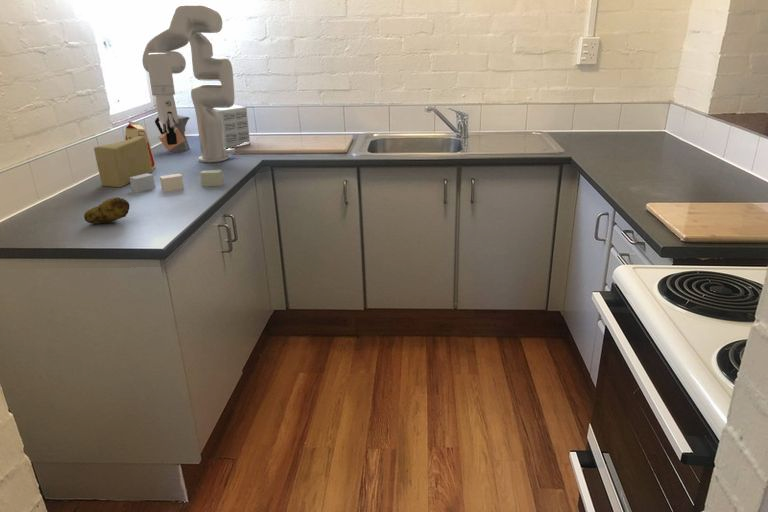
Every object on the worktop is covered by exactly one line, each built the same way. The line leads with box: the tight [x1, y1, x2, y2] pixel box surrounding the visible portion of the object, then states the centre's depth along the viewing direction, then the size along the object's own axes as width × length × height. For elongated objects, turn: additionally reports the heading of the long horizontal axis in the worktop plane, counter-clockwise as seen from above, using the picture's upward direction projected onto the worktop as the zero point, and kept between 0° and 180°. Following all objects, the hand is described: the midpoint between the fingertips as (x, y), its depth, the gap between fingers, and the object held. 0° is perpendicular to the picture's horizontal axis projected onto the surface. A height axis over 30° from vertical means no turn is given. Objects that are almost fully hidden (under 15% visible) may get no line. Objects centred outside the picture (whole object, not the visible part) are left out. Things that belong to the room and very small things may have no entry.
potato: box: [83, 196, 131, 225], centre depth 173 cm, size 8×13×8 cm, turn 78°
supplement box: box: [213, 103, 251, 149], centre depth 275 cm, size 17×13×18 cm
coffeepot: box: [154, 114, 191, 153], centre depth 263 cm, size 15×9×18 cm, turn 103°
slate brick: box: [130, 173, 156, 193], centre depth 207 cm, size 7×4×5 cm, turn 142°
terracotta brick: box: [158, 127, 185, 152], centre depth 204 cm, size 7×4×5 cm, turn 122°
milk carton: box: [124, 120, 157, 170], centre depth 231 cm, size 9×9×20 cm
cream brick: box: [159, 173, 185, 193], centre depth 207 cm, size 7×4×5 cm, turn 122°
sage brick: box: [199, 169, 224, 187], centre depth 212 cm, size 7×4×5 cm, turn 92°
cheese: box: [93, 136, 153, 188], centre depth 218 cm, size 22×10×15 cm, turn 161°
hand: (170, 142), depth 205 cm, fingers closed on terracotta brick, 3 cm apart
